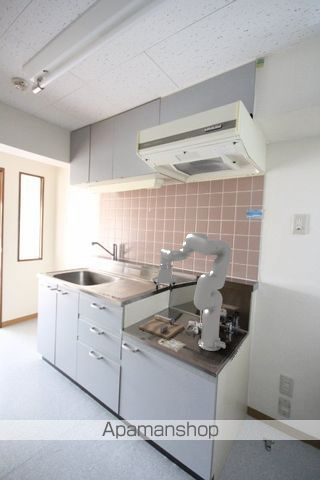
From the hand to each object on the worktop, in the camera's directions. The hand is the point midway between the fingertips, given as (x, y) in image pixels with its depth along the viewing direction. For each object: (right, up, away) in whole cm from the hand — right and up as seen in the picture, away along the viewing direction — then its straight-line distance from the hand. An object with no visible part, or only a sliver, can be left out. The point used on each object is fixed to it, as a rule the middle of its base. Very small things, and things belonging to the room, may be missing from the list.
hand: (164, 290), depth 156 cm
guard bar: (0, -20, -4) cm, 20 cm away
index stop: (-1, -22, -19) cm, 29 cm away
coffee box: (+29, -23, -4) cm, 37 cm away
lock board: (-2, -22, -11) cm, 25 cm away
